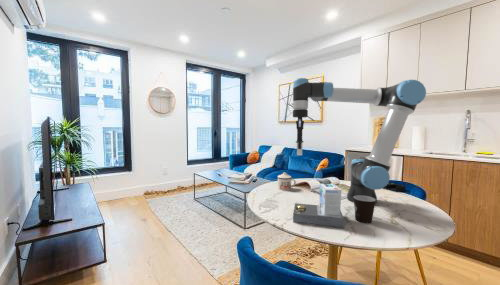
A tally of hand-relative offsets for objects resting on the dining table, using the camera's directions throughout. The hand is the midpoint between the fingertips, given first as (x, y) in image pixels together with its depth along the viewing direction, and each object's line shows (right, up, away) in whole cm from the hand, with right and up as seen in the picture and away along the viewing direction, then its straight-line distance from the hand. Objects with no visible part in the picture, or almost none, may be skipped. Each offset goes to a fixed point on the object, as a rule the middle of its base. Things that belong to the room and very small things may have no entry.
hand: (299, 155), depth 118 cm
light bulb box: (+9, -23, -19) cm, 31 cm away
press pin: (-3, -26, -16) cm, 31 cm away
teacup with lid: (-2, -25, +30) cm, 39 cm away
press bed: (+4, -27, -18) cm, 33 cm away
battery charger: (+68, -26, +33) cm, 80 cm away
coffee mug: (+25, -28, -18) cm, 41 cm away
